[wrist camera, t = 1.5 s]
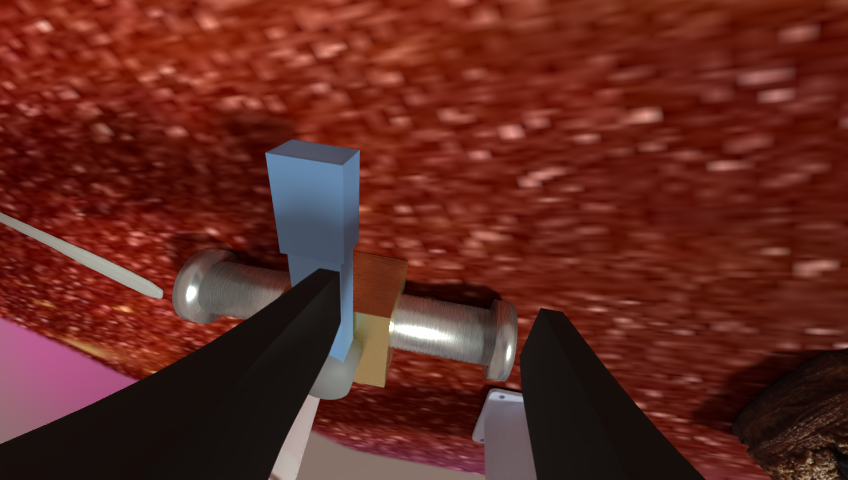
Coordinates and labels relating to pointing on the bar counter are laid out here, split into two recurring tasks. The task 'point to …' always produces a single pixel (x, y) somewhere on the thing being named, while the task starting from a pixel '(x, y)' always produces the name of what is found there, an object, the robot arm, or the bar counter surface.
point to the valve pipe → (359, 312)
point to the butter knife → (88, 259)
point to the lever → (320, 236)
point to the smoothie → (295, 442)
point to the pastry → (801, 422)
